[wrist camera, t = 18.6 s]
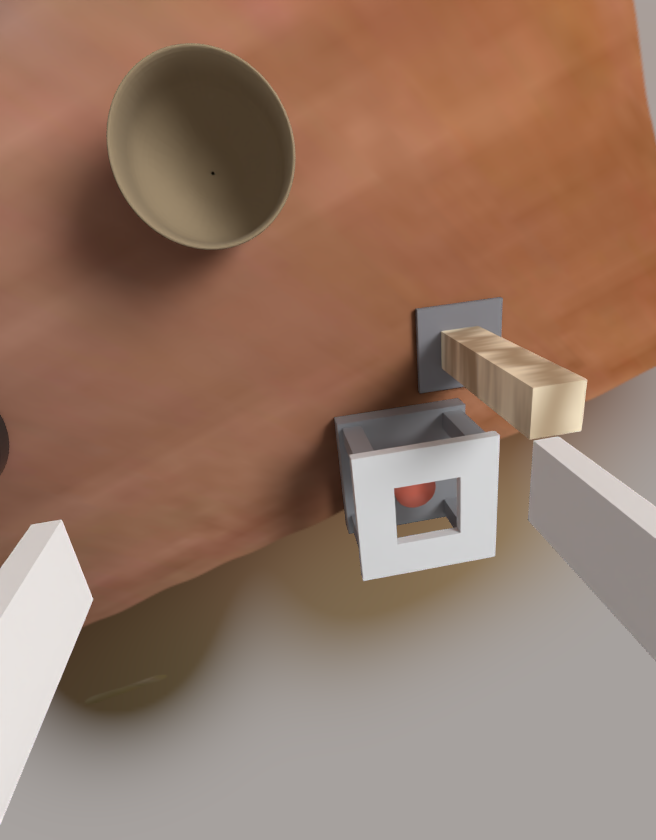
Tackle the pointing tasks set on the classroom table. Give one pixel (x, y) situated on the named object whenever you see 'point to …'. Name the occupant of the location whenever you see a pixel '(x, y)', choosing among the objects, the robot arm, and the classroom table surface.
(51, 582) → the robot arm
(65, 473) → the classroom table surface
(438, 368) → the pad
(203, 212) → the bowl
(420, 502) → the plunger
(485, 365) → the light wooden bar
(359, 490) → the grey open box frame
